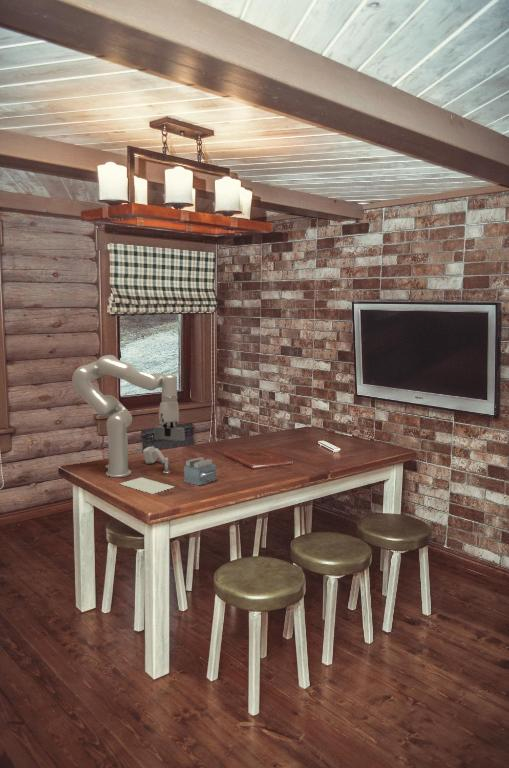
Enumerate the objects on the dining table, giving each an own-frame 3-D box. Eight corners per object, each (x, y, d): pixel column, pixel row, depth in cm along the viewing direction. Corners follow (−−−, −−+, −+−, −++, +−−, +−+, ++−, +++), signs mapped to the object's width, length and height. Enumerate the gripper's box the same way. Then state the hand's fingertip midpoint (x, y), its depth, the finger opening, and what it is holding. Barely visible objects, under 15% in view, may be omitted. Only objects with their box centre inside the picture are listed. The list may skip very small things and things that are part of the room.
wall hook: (164, 464, 317) (160, 446, 317) (146, 468, 320) (142, 450, 319) (169, 461, 325) (165, 443, 325) (152, 464, 328) (148, 446, 327)
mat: (118, 484, 283) (118, 483, 283) (141, 478, 294) (141, 477, 294) (152, 494, 268) (152, 493, 268) (175, 487, 279) (174, 486, 279)
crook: (154, 438, 301) (153, 427, 301) (167, 436, 308) (166, 424, 308) (181, 440, 289) (180, 428, 288) (194, 438, 296) (193, 426, 295)
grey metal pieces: (155, 474, 301) (155, 454, 300) (172, 469, 310) (172, 450, 309) (200, 486, 281) (200, 465, 280) (217, 481, 290) (218, 460, 289)
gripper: (175, 396, 302) (175, 432, 304) (152, 400, 289) (152, 437, 292) (186, 398, 297) (186, 434, 300) (162, 401, 285) (162, 439, 287)
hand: (169, 435), depth 296 cm, fingers closed on crook, 2 cm apart
